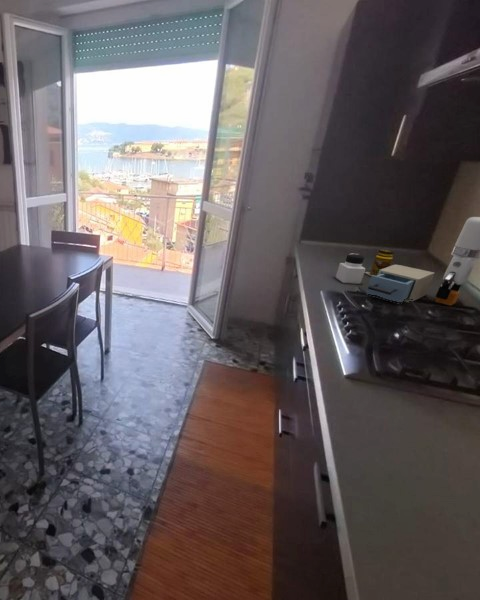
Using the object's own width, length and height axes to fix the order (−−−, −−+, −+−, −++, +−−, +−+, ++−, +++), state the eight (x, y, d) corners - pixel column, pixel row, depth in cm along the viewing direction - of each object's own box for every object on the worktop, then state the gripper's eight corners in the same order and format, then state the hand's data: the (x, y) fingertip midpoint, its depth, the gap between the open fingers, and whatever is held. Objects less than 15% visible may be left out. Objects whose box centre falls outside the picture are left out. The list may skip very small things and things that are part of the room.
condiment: (375, 278, 160) (384, 252, 156) (362, 272, 168) (370, 247, 163) (391, 278, 160) (401, 252, 156) (377, 272, 168) (386, 247, 163)
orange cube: (455, 303, 135) (460, 292, 133) (451, 305, 133) (456, 294, 131) (439, 299, 139) (444, 288, 137) (435, 301, 136) (439, 290, 135)
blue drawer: (392, 307, 129) (400, 287, 126) (357, 297, 138) (363, 278, 135) (415, 296, 138) (423, 278, 135) (381, 287, 147) (387, 269, 144)
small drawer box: (409, 302, 135) (419, 279, 131) (371, 292, 145) (379, 269, 141) (425, 295, 142) (434, 272, 138) (387, 285, 152) (395, 264, 148)
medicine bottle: (361, 284, 154) (370, 257, 149) (342, 283, 155) (351, 256, 150) (352, 278, 160) (360, 252, 155) (335, 277, 161) (342, 252, 156)
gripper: (473, 258, 121) (450, 304, 128) (489, 251, 129) (467, 294, 136) (444, 252, 127) (424, 296, 134) (461, 246, 135) (441, 288, 142)
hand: (445, 295), depth 135 cm, fingers open, 9 cm apart
